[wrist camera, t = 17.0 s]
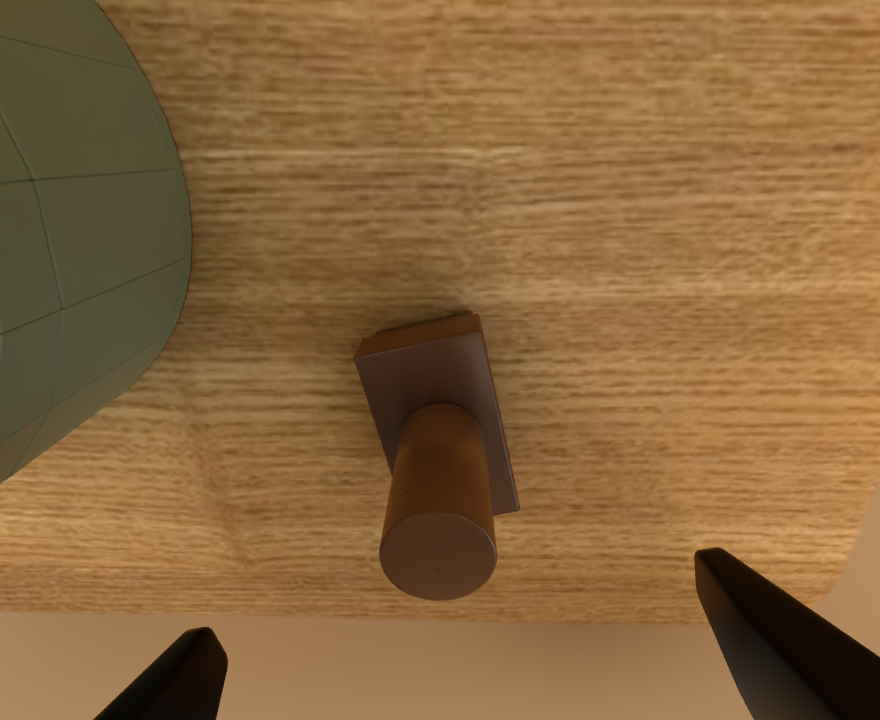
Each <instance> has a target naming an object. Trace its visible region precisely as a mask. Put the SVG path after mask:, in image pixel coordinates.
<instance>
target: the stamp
mask: <svg viewBox="0 0 880 720" xmlns="http://www.w3.org/2000/svg"><path fill="white" fill-rule="evenodd" d="M354 361H355V364H356V367H357V370H358V373H359V376H360V379H361V382H362V385H363V388H364V391H365V394H366V398H367V401H368V404H369V407H370V410H371V413H372V416H373V419H374V422H375V425H376V428H377V431H378V434H379V437H380V440H381V444H382V447H383V450H384V453H385V456H386V459H387V462H388V465H389V468H390V471H391V474H392V482H391V488H390V493H389V499H388V504H387V510H386V516H385V521H384V527H383V532H382V538H381V543H380V549H379V557H380V562H381V566H382V568H383V571H384V573H385V574H386V576H387V577H388V579H389V580H390V581H391V582H392V583H393V584H394V585H395V586H396V587H398V588H399V589H400V590H402V591H404V592H405V593H407V594H409V595H412V596H414V597H417V598H421V599H426V600H433V601H446V600H453V599H458V598H461V597H464V596H467V595H469V594H471V593H473V592H475V591H476V590H478V589H479V588H480V587H482V586H483V585H484V584H485V583H486V582H487V581H488V579H489V578H490V577H491V575H492V573H493V571H494V568H495V566H496V561H497V548H496V539H495V530H494V521H493V515H499V514H504V513H510V512H516V511H519V510H520V506H519V501H518V495H517V490H516V484H515V479H514V475H513V470H512V465H511V461H510V456H509V451H508V447H507V442H506V437H505V433H504V428H503V423H502V419H501V414H500V409H499V405H498V400H497V395H496V391H495V386H494V381H493V377H492V372H491V367H490V363H489V358H488V353H487V348H486V344H485V339H484V334H483V330H482V325H481V320H480V316H479V314H473V313H472V312H464V313H460V314H455V315H451V316H446V317H441V318H437V319H432V320H427V321H423V322H418V323H414V324H409V325H404V326H400V327H395V328H391V329H386V330H381V331H377V332H376V333H375V336H371V337H366V338H363V339H362V341H361V343H360V345H359V347H358V349H357V352H356V354H355V356H354Z"/></svg>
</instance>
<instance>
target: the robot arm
mask: <svg viewBox="0 0 880 720" xmlns="http://www.w3.org/2000/svg"><path fill="white" fill-rule="evenodd" d="M694 560H695V580H696V589H697V593H698V596H699V599H700V602H701V604H702V606H703V609H704V611H705V613H706V616H707V618H708V620H709V623H710V625H711V627H712V629H713V632H714V634H715V637H716V638H717V641H718V644H719V646H720V648H721V651H722V653H723V655H724V658H725V660H726V662H727V665H728V667H729V669H730V672H731V674H732V676H733V679H734V681H735V683H736V685H737V688H738V690H739V692H740V694H741V696H742V698H743V699H744V702H745V704H746V706H747V708H748V710H749V711H750V713H751V715H752V717H753V718H754V720H880V657H879V656H878V655H876V654H875V653H873V652H872V651H870V650H869V649H867V648H866V647H865V646H863V645H861V644H860V643H859V642H857V641H856V640H854V639H853V638H851V637H850V636H849V635H847V634H846V633H844V632H843V631H841V630H840V629H838V628H837V627H835V626H834V625H832V624H831V623H830V622H828V621H827V620H825V619H824V618H822V617H821V616H820V615H818V614H817V613H815V612H814V611H812V610H811V609H809V608H808V607H807V606H805V605H804V604H802V603H801V602H799V601H798V600H796V599H795V598H793V597H792V596H791V595H789V594H788V593H786V592H785V591H783V590H782V589H780V588H779V587H778V586H776V585H775V584H773V583H772V582H770V581H769V580H767V579H766V578H764V577H763V576H762V575H760V574H759V573H757V572H756V571H754V570H753V569H751V568H750V567H749V566H747V565H746V564H744V563H743V562H741V561H740V560H738V559H737V558H736V557H734V556H733V555H731V554H730V553H728V552H727V551H725V550H724V549H722V548H718V547H715V548H709V549H702V550H698V551H696V552H695V556H694ZM227 667H228V659H227V655H226V652H225V651H224V649H223V647H222V646H221V644H220V642H219V641H218V639H217V637H216V635H215V633H214V632H213V630H212V629H211V628H209V627H201V628H195V629H190V630H187V631H186V632H184V633H183V634H182V635H181V636H180V637H179V638H178V639H177V640H176V641H175V642H174V643H173V644H172V645H171V646H170V647H169V648H168V649H166V650H165V651H164V652H163V654H161V655H160V656H159V657H158V658H157V659H156V660H155V661H154V662H153V663H152V664H151V665H150V666H149V667H148V668H147V669H146V670H145V671H143V672H142V674H140V675H139V676H138V678H136V679H135V680H134V681H133V682H132V683H131V684H130V685H129V686H128V687H127V688H126V689H125V690H124V691H123V692H122V693H121V694H119V696H117V697H116V698H115V699H114V700H113V701H112V702H111V703H110V704H109V705H108V706H107V707H106V708H105V709H104V710H103V711H102V712H101V713H100V714H99V715H98V716H96V717H95V718H94V719H93V720H216V716H217V712H218V708H219V703H220V699H221V694H222V689H223V686H224V681H225V677H226V672H227Z"/></svg>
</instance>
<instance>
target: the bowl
mask: <svg viewBox="0 0 880 720" xmlns="http://www.w3.org/2000/svg"><path fill="white" fill-rule="evenodd" d="M191 247H192V229H191V218H190V208H189V198H188V193H187V189H186V184H185V180H184V175H183V171H182V166H181V161H180V158H179V155H178V152H177V149H176V147H175V144H174V141H173V138H172V135H171V132H170V129H169V126H168V123H167V121H166V118H165V116H164V114H163V112H162V110H161V108H160V106H159V103H158V101H157V99H156V97H155V95H154V93H153V91H152V88H151V86H150V84H149V82H148V80H147V79H146V77H145V75H144V73H143V72H142V70H141V68H140V67H139V65H138V63H137V62H136V60H135V58H134V57H133V55H132V53H131V52H130V50H129V48H128V47H127V45H126V43H125V42H124V40H123V39H122V37H121V36H120V35H119V33H118V32H117V31H116V29H115V28H114V27H113V25H112V24H111V23H110V21H109V20H108V19H107V17H106V16H105V14H104V13H103V12H102V10H101V9H100V8H99V6H98V5H97V4H96V2H95V1H94V0H0V484H1V483H2V482H3V481H5V480H6V479H8V478H9V477H11V476H12V475H13V474H15V473H16V472H17V471H19V470H20V469H22V468H23V467H24V466H26V465H27V464H28V463H30V462H31V461H32V460H34V459H35V458H36V457H38V456H39V455H40V454H42V453H43V452H44V451H46V450H47V449H48V448H50V447H51V446H52V445H54V444H55V443H56V442H58V441H59V440H60V439H62V438H63V437H64V436H66V435H67V434H68V433H70V432H71V431H72V430H74V429H75V428H76V427H78V426H79V425H80V424H82V423H83V422H84V421H86V420H87V419H89V418H90V417H91V416H93V415H94V414H95V413H97V412H98V411H99V410H101V409H102V408H103V407H105V406H106V405H107V404H109V403H110V402H111V401H113V400H114V399H115V398H117V397H118V396H119V395H121V394H122V393H123V392H125V391H126V390H127V389H129V388H130V387H131V386H132V385H133V384H134V383H135V381H136V380H137V378H138V377H139V376H140V375H142V374H143V373H144V372H145V371H146V370H147V369H148V368H149V366H150V365H151V364H152V363H153V361H154V360H155V359H156V357H157V356H158V355H159V353H160V352H161V351H162V349H163V348H164V346H165V344H166V343H167V341H168V339H169V337H170V335H171V333H172V331H173V329H174V327H175V326H176V323H177V320H178V317H179V314H180V312H181V309H182V306H183V303H184V300H185V297H186V291H187V285H188V280H189V274H190V268H191Z"/></svg>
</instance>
